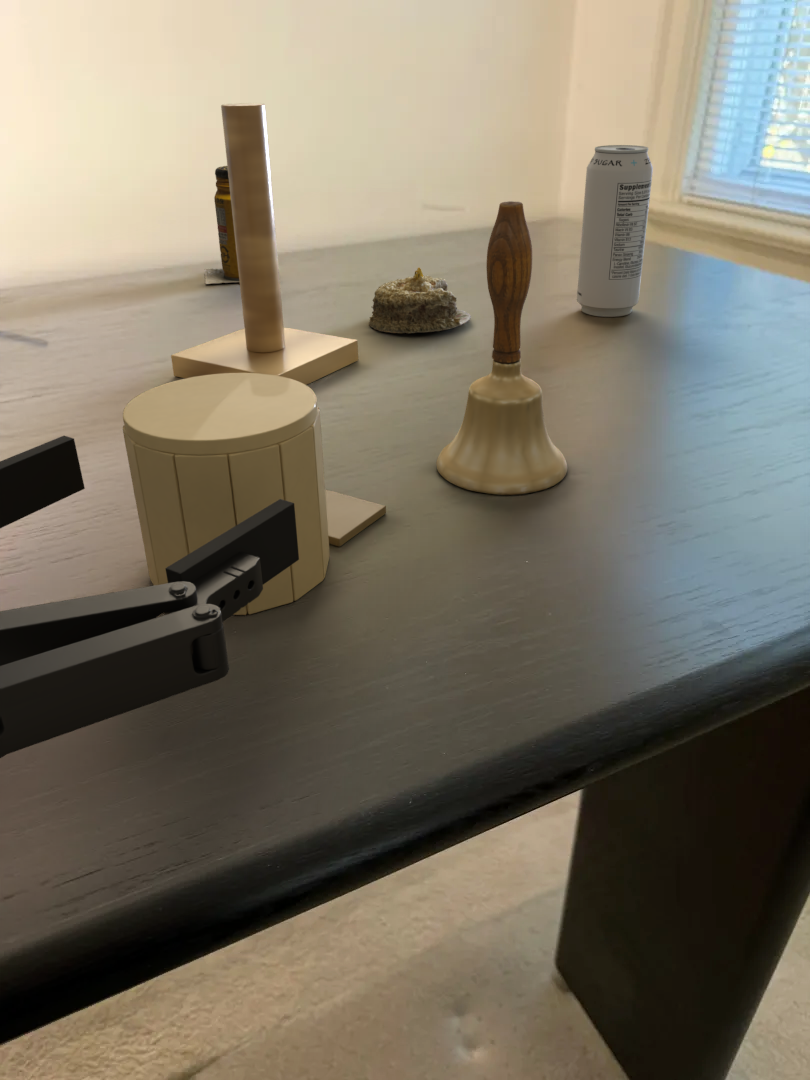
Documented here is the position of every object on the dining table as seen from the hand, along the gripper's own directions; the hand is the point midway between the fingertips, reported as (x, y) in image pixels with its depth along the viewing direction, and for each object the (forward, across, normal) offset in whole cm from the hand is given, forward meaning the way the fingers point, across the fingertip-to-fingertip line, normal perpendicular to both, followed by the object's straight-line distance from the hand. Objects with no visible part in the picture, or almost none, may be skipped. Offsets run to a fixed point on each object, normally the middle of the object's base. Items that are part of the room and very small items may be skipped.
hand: (174, 492), depth 41 cm
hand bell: (+22, +6, -6) cm, 23 cm away
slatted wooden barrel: (+6, 0, -6) cm, 8 cm away
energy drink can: (+61, -2, -6) cm, 61 cm away
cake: (+48, -16, -6) cm, 51 cm away
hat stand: (+30, -20, -6) cm, 36 cm away
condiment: (+55, -45, -6) cm, 71 cm away
